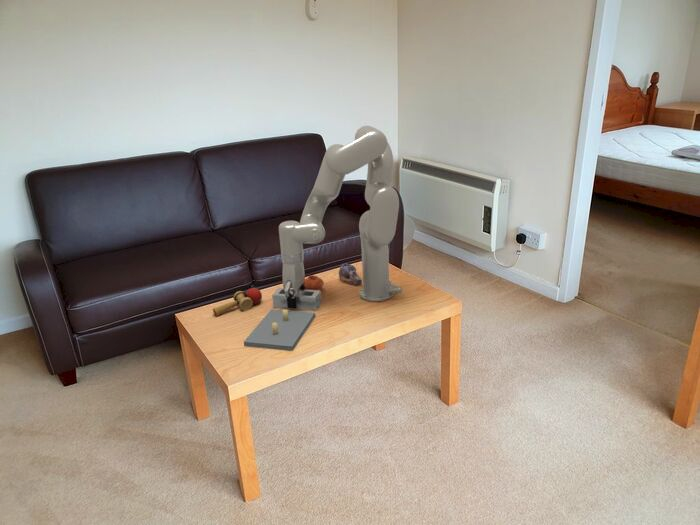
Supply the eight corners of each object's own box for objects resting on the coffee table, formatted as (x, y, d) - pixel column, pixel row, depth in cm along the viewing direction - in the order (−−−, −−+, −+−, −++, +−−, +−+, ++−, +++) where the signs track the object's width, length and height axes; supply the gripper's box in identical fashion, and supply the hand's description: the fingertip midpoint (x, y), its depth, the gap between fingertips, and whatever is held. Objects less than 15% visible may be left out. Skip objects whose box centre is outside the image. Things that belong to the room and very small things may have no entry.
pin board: (315, 316, 176) (314, 303, 174) (292, 350, 157) (291, 336, 155) (271, 313, 180) (270, 300, 178) (244, 345, 161) (242, 331, 159)
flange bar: (321, 303, 185) (320, 290, 184) (316, 310, 180) (315, 297, 178) (279, 300, 189) (278, 287, 188) (273, 307, 184) (272, 294, 182)
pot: (308, 284, 200) (311, 269, 197) (325, 292, 197) (328, 277, 194) (297, 292, 194) (299, 276, 191) (314, 300, 191) (317, 284, 188)
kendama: (221, 324, 178) (267, 302, 186) (215, 307, 176) (262, 286, 184) (214, 319, 184) (259, 298, 192) (208, 303, 182) (253, 283, 191)
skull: (366, 284, 198) (366, 270, 196) (348, 289, 196) (347, 274, 193) (353, 274, 209) (352, 260, 206) (336, 278, 206) (335, 263, 204)
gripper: (291, 247, 186) (295, 291, 193) (272, 265, 171) (277, 312, 177) (311, 248, 185) (314, 292, 191) (294, 267, 169) (298, 314, 176)
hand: (296, 302), depth 184 cm, fingers open, 8 cm apart
